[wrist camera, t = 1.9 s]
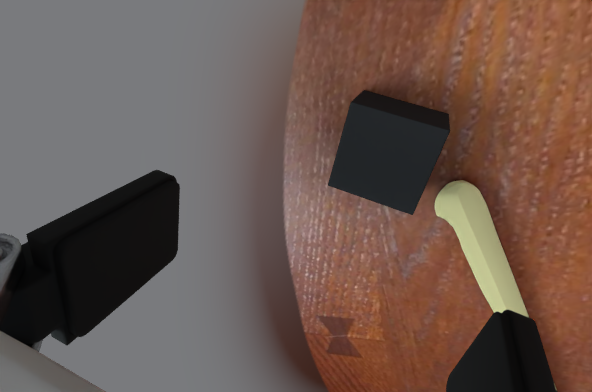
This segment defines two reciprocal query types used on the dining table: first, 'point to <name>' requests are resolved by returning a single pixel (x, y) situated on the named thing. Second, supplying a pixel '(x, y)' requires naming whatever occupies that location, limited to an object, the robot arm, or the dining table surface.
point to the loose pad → (388, 150)
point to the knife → (480, 244)
